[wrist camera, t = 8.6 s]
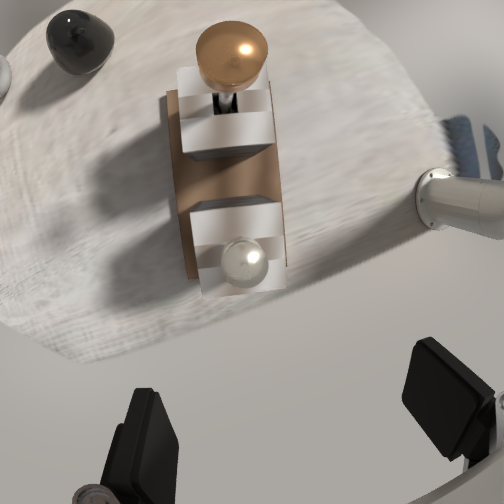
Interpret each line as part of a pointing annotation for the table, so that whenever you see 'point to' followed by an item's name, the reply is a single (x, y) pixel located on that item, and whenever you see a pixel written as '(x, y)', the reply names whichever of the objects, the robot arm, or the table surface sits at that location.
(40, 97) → the table surface
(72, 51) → the pump dispenser
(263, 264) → the ivory plunger
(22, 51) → the table surface
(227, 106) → the copper plunger
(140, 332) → the table surface
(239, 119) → the press station
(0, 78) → the donut
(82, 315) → the table surface
